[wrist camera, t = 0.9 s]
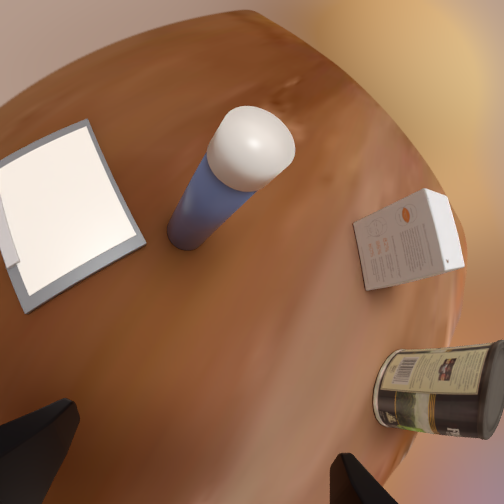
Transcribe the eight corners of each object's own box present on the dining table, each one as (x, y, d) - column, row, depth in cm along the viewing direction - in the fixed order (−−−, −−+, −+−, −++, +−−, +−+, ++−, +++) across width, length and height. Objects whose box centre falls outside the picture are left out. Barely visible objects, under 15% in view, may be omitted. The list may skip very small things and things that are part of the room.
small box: (392, 286, 32) (466, 268, 23) (363, 291, 30) (446, 272, 20) (380, 224, 34) (448, 194, 25) (351, 221, 31) (425, 186, 22)
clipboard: (27, 314, 15) (23, 313, 14) (-16, 174, 15) (-20, 168, 14) (145, 245, 21) (147, 241, 20) (87, 122, 21) (87, 115, 20)
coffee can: (409, 425, 29) (499, 433, 16) (363, 427, 25) (475, 447, 13) (423, 354, 33) (513, 346, 20) (382, 341, 29) (494, 331, 17)
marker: (179, 259, 22) (251, 182, 10) (158, 221, 22) (207, 114, 10) (214, 239, 23) (308, 158, 12) (193, 204, 23) (267, 101, 12)
